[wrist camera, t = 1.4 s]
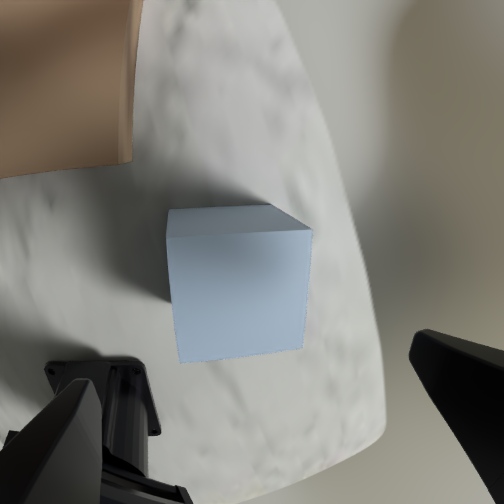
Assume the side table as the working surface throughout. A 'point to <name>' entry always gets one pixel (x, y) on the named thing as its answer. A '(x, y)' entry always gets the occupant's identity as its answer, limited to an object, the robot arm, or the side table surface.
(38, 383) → the side table surface
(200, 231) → the blue cube
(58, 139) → the walnut base
